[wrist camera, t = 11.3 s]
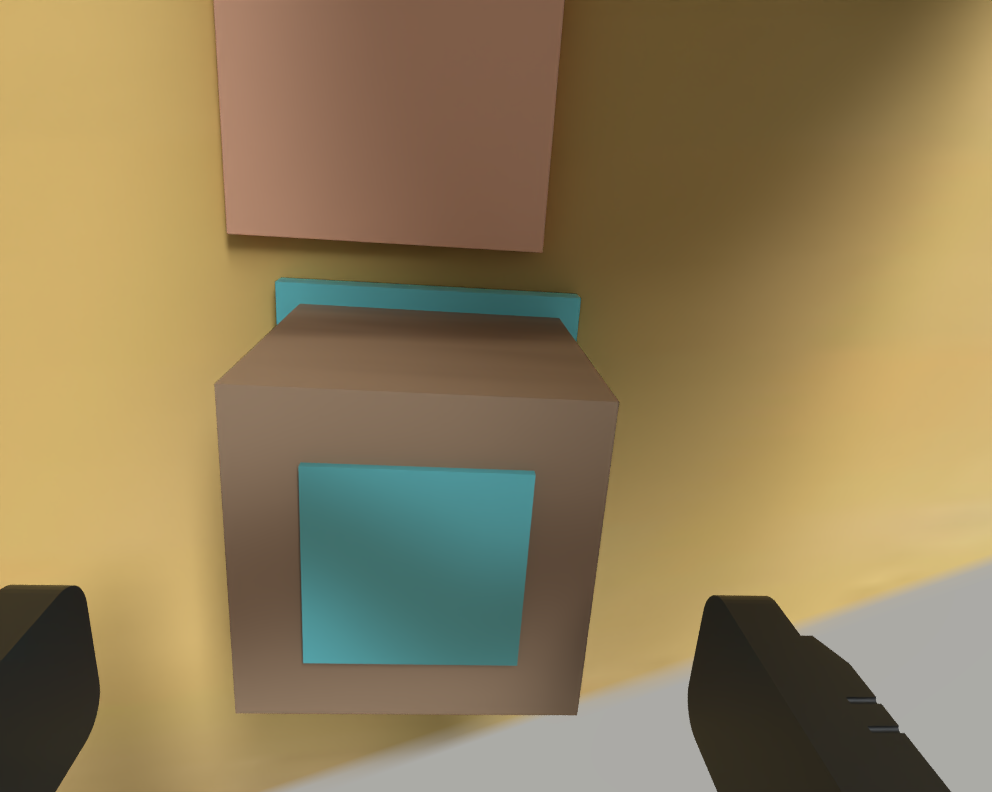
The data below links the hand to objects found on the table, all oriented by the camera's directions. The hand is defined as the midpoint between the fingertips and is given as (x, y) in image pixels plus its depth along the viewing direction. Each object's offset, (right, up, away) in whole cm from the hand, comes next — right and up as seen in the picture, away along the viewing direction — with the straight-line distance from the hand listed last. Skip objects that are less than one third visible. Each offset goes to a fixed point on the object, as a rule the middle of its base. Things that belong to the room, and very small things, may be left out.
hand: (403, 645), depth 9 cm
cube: (0, +2, +8) cm, 8 cm away
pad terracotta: (-1, +10, +6) cm, 12 cm away
